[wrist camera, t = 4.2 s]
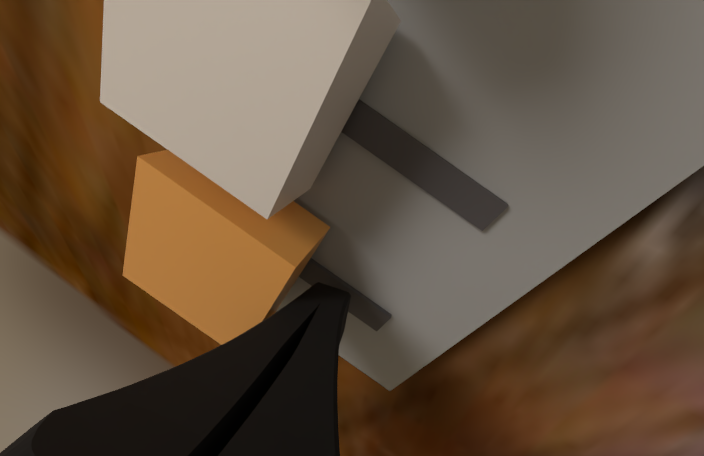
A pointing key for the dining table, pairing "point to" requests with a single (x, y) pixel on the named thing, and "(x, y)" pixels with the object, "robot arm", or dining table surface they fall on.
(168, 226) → the block
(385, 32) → the block
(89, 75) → the dining table surface
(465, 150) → the panel
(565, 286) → the dining table surface
